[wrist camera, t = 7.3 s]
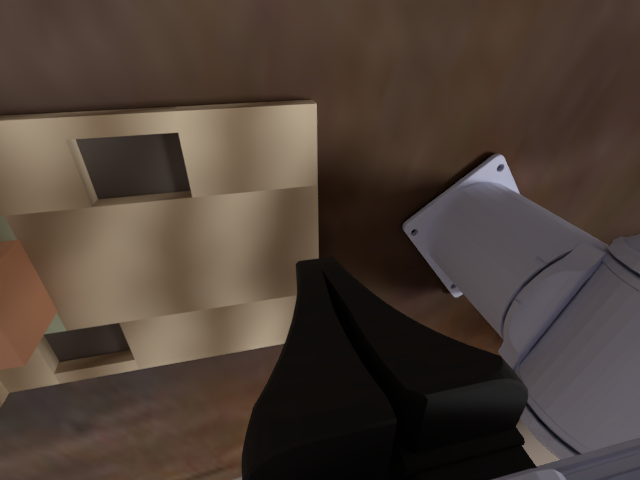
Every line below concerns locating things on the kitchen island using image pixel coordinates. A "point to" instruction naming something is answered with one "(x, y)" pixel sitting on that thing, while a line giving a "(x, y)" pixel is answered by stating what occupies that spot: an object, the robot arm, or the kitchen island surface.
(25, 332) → the rust block
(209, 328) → the box
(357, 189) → the kitchen island surface
